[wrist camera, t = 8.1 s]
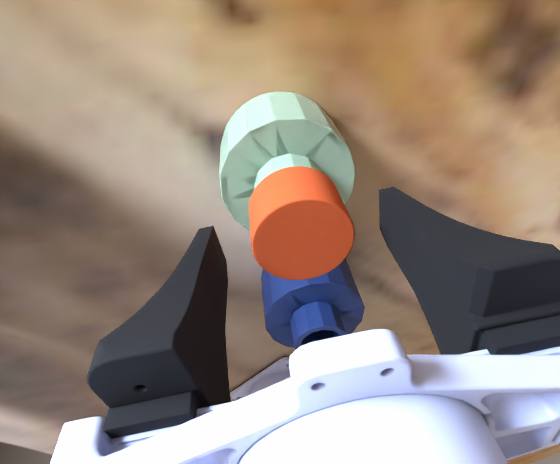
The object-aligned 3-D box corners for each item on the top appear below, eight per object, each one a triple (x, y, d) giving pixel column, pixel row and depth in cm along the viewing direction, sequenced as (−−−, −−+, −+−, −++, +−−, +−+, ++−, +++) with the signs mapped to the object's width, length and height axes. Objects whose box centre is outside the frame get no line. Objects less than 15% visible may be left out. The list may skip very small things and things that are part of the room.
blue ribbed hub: (365, 271, 29) (393, 336, 24) (302, 316, 31) (315, 384, 26) (308, 226, 25) (328, 291, 21) (242, 280, 28) (246, 350, 23)
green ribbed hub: (357, 147, 22) (394, 201, 17) (278, 216, 25) (291, 281, 20) (280, 62, 19) (298, 101, 14) (197, 153, 21) (188, 212, 16)
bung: (349, 189, 18) (375, 238, 15) (288, 239, 20) (300, 294, 16) (292, 134, 16) (308, 178, 13) (229, 195, 18) (229, 248, 14)
